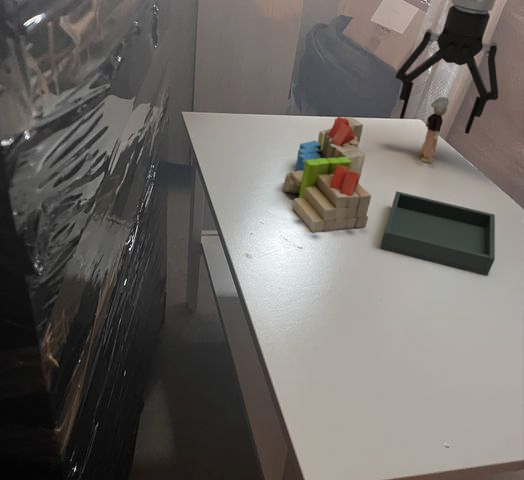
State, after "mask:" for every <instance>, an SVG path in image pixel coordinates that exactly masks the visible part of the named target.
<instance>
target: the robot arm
mask: <svg viewBox="0 0 524 480" xmlns="http://www.w3.org/2000/svg"><path fill="white" fill-rule="evenodd" d="M451 3H452V5H451V6H450V7H449V8H448V13H447V15H446V19H445V22H444V25H443V28H442V31H441V32H440V33H436V32H433V31H432V29H431V28H430V29H429V28H428V29H426V30H425V32H424V35H423V37H422V40H421V41H420V43H419V44H418V45H417V46H416V48H415V49H414V50H413V52H412V53H411V54H409V56H408V58H407V59H406V60H405V61H404V63H403V64H402V65H401V67H400V68H399V69H398V70H397V71H396V74H395V78H396V79H397V80H399V81H401V83H402V86H401V90H400V94H399V100H400V101H403V104H402V108H401V110H400V111H401V112H400V115H399V119H402V120H404V117H405V115H406V111H407V108H408V104H409V101H410V97H411V93H412V90H413V86H414V82H413V81H414V80H415V79H417V78H418V77H420V76H421V75H422V74H424V73H425V72H427V70H429V69H430V68H431V67H433V66H434V65H435V64H437V63H439V62H440V61H441V60H443V61H444V62H445V63H447V64H455V65H457V66H463V65H466V66H467V68H468V70H469V72H470V75H471V78H472V80H473V82H474V86H475V87H476V90H477V92H478V95H479V96H476V97H475V100H474V103H473V106H472V109H471V111H470V115H469V117H468V121H467V123H466V125H465V128H464V129H465V130H464V134H470V131H471V128H472V126H473V122H474V120H475V118H476V117H477V118H480V117H481V116H482V114H483V112H484V109H485V106H486V104H487V102H489V101H492V100H493V101H497V100H498V98H499V89H498V86H499V85H498V77H497V67H496V55H497V51H498V43H496V42H492V43H483V39H484V35H485V32H486V30H487V27H488V24H489V21H490V18H491V15H490V12H491V11H492V10H493V9H494V6H495V3H496V0H451ZM434 42H437V43H436V44H437V46H438V50H437V51H435V52H434V53H433V54H432V55H431V56H429V57H428V58H427V59H426V60H424V61H423V62H421V63H420V64H419V65H418V66H417V67H415V68H414V69H413V70H412V71H410V72H409V73H407V71H409V69H410V68H411V67H412V65H414V63H415V62H416V61H417V59H418V58H419V57H420V56H421V55H422V53H423V52H424V51H425V50H426V48H427V47H428V46H431V45H433V43H434ZM481 52H483V54H484V55H483V56H484V57H485V58H487V69H488V77H489V85H490V91H488V90H487V88H486V85H485V83H484V80H483V78H482V75H481V73H480V70H479V67H478V65H477V62H476V59H475V57H476V56H477V55H479V53H481Z"/></svg>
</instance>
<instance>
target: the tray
mask: <svg viewBox="0 0 524 480" xmlns="http://www.w3.org/2000/svg"><path fill="white" fill-rule="evenodd" d="M381 239H382V240H381V244H380V246H379V249H383V250H385V251H390V252H394V253H398V254H402V255H406V256H409V257H412V258H413V257H414V258H417V259H421V260H426V261H430V262H432V263H437V264H440V265H441V264H442V265H445V266H449V267H454V268H456V269H462V270H464V271H469V272H473V273H477V274H481V275H485V276H488V275H489V273H490V271H491V270H492V269H491V268H492V267H493V264H494V262H495V260H496V254H495V253H496V215H495V214H493V213H490V212H485V211H482V210H476V209H473V208H469V207H465V206H459V205H456V204H451V203H448V202H443V201H439V200H435V199H431V198H427V197H422V196H418V195H415V194H410V193H405V192H401V191H398V190H397V191H396V192H395V195H394V198H393V201H392V205H391V208H390V213H389V215H388V219H387V222H386V224H385V229H384V232H383V235H382V238H381Z"/></svg>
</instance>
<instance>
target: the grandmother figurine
mask: <svg viewBox="0 0 524 480" xmlns="http://www.w3.org/2000/svg"><path fill="white" fill-rule="evenodd" d="M449 103H450V100H449V98H447V97H444V96H440V97H438V98H437V99H434V101H433V102H432V103H431V104H430V107H431V108H433V113H432V114H431V115H429V116H428V117H427V119H426V123H425V127H426V128H427V131H426V135H425V139H424V142H423V144H422V147H421V150H420V152H418V154H417V157H419V158H420V161H421V162H424V163H427V164H433V163H434V158H433V157H435V155H436V150H437V145H438V140H439V134H440V132H441V127H442V125H443V122H444V120H443V116H444V115H445V114H446V112H447V110H448V106H449Z"/></svg>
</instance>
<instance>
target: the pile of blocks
mask: <svg viewBox="0 0 524 480" xmlns="http://www.w3.org/2000/svg"><path fill="white" fill-rule="evenodd" d="M363 128H364V124H363V123H362V122H360V121H358V120H357V119H355V118H353V117H352V116H346V117H342V116H337V117H336V118H335V119H334V122H333V124H332V126H331V128H328V129H323V130H320V131H319V132H318V138H317V141H316V140H311V141H308V142H303V143H300V144H299V148H298V151H297V157H296V165H295V171H294V170H293V171H290V173H287V174H286V175H285V177H284V184H283V189H282V192H285V193H291V194H298V195H299V196H298V197H295V198H294V199H293V203H292V210H294V212H295V213H296V214H297V216H298V217H299V218H300V219H301V220H302V221H303V223H304V224H305V225H306V226H307V228H308V229H309V230H310V231H311V232H312V233H319V232H331V231H337V230H344V229H354V228H356V229H359V228H366V226H367V223H368V220H369V216H368V215H367V214H368V210H369V206H370V203H371V198H372V195H371V194H370V193H369V191H367V190H366V189H365V188H364V187H363V186H362V185H361V184H360V179H361V175H362V170H363V167H364V162H365V158H366V154H365V153H364V152H362V150H360V149H359V144H360V141H361V136H362V132H363Z"/></svg>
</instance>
